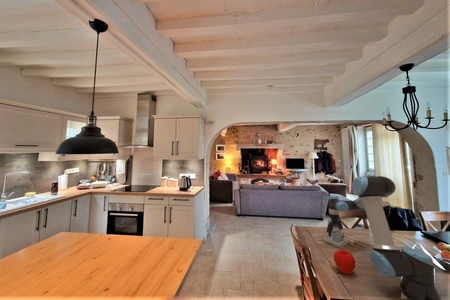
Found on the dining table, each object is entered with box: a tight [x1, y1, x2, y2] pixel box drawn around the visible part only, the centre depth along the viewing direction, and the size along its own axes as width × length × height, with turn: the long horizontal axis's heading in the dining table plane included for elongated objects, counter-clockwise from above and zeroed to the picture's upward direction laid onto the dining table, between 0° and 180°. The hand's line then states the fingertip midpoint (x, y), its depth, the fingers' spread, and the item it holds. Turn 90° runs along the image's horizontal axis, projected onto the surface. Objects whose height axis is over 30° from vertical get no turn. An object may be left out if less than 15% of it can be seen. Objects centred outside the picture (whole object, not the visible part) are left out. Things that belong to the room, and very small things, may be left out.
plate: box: [343, 235, 359, 245], centre depth 152 cm, size 8×8×2 cm
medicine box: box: [331, 230, 342, 243], centre depth 152 cm, size 8×4×9 cm, turn 92°
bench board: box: [320, 232, 371, 255], centre depth 151 cm, size 28×26×6 cm
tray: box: [323, 235, 348, 249], centre depth 151 cm, size 12×13×3 cm
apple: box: [333, 249, 356, 275], centre depth 114 cm, size 12×12×13 cm
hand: (335, 238), depth 152 cm, fingers open, 13 cm apart
